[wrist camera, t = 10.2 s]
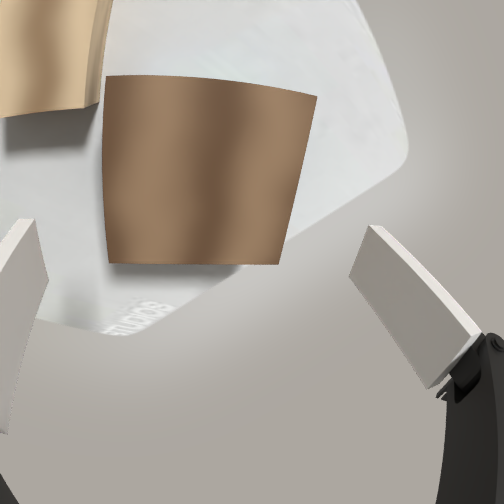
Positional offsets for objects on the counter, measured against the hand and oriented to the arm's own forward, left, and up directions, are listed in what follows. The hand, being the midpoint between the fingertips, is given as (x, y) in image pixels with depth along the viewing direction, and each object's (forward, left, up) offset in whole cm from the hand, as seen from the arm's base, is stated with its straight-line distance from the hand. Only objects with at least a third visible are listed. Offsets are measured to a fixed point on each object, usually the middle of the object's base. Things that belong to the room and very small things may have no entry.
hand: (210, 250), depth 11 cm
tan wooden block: (-12, +11, -14) cm, 21 cm away
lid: (0, 0, -10) cm, 10 cm away
